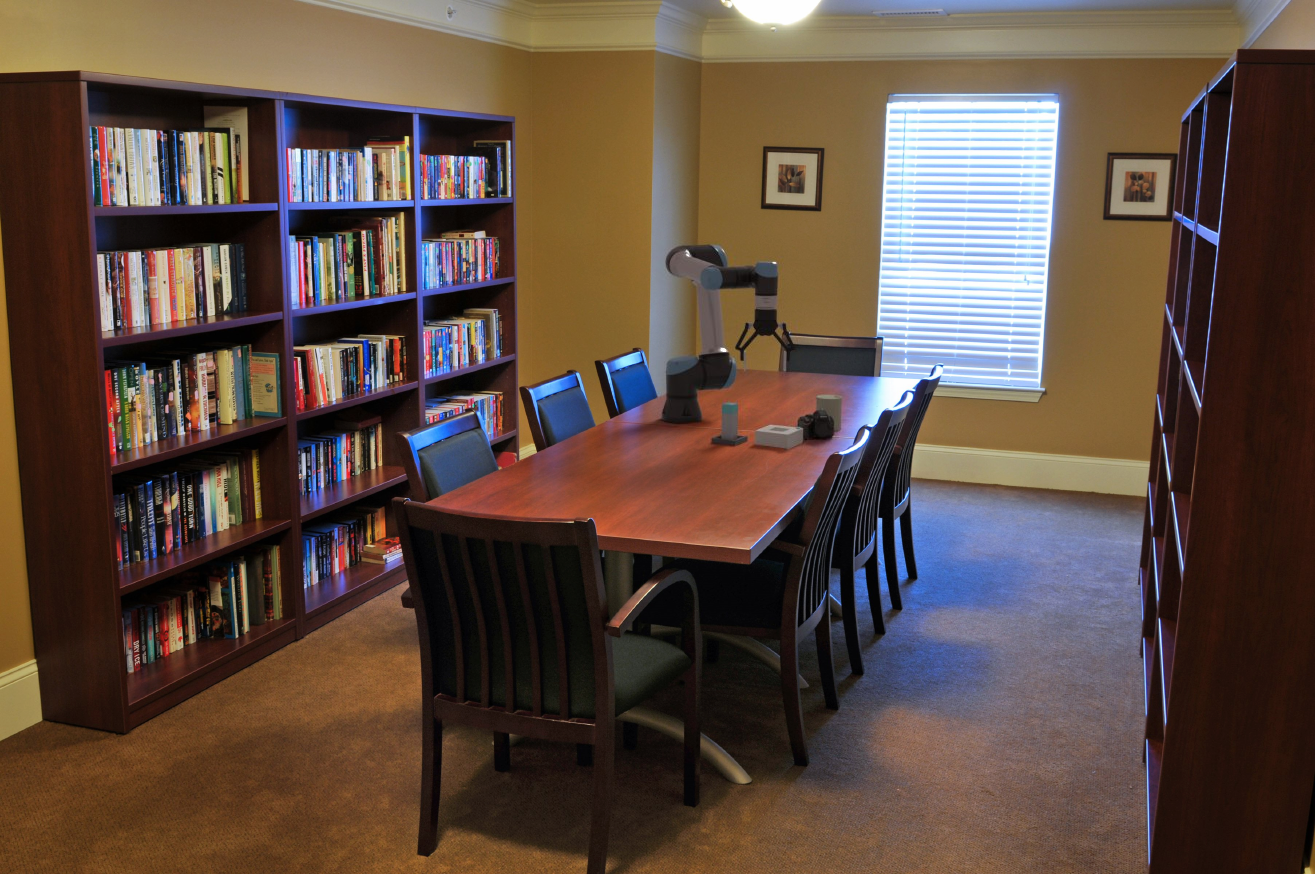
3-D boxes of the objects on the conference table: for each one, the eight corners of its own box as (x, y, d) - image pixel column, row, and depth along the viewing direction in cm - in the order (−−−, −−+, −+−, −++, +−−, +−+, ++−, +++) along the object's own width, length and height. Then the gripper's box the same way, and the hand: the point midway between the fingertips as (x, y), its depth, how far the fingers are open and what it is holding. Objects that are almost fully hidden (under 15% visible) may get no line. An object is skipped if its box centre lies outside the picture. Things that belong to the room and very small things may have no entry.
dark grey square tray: (711, 443, 370) (711, 438, 369) (723, 439, 377) (723, 433, 377) (735, 447, 365) (735, 441, 365) (747, 442, 373) (747, 436, 372)
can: (840, 431, 390) (841, 398, 387) (814, 430, 391) (815, 397, 389) (841, 426, 399) (842, 393, 396) (816, 425, 400) (817, 392, 398)
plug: (721, 442, 370) (721, 404, 368) (726, 440, 374) (727, 402, 371) (732, 443, 368) (732, 405, 366) (737, 441, 372) (738, 403, 369)
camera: (809, 442, 372) (810, 413, 370) (793, 437, 381) (793, 408, 379) (841, 438, 378) (842, 410, 376) (824, 433, 387) (825, 405, 385)
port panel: (754, 445, 367) (755, 429, 366) (770, 438, 377) (770, 423, 376) (787, 449, 361) (788, 433, 360) (802, 442, 371) (803, 427, 370)
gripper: (728, 308, 368) (727, 371, 373) (803, 309, 367) (802, 372, 371) (728, 306, 376) (727, 368, 380) (802, 307, 374) (800, 369, 379)
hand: (764, 370), depth 376 cm, fingers open, 13 cm apart
